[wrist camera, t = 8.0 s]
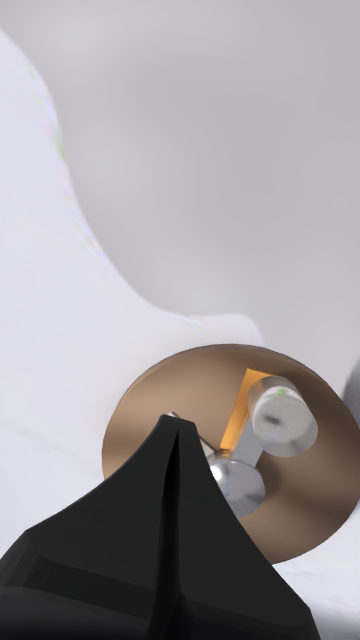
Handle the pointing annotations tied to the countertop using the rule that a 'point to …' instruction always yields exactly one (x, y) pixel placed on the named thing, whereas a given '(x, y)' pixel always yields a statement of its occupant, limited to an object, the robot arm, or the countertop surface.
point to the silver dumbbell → (263, 441)
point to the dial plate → (223, 425)
